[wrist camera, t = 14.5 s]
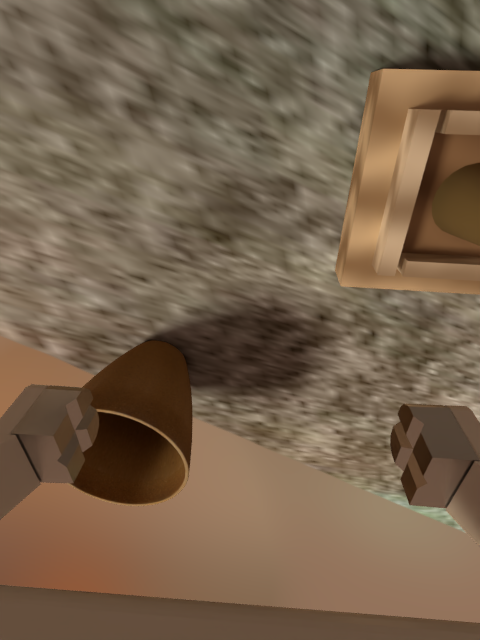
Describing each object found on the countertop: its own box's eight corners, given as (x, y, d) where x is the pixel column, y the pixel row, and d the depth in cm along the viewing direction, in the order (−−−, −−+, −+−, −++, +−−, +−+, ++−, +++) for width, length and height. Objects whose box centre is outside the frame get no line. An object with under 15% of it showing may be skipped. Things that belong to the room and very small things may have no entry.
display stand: (370, 72, 30) (392, 65, 24) (596, 78, 29) (672, 72, 23) (335, 270, 39) (345, 297, 34) (503, 279, 38) (542, 309, 33)
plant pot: (113, 300, 44) (40, 389, 30) (226, 338, 45) (206, 439, 32) (98, 384, 51) (35, 485, 38) (196, 414, 53) (169, 521, 39)
